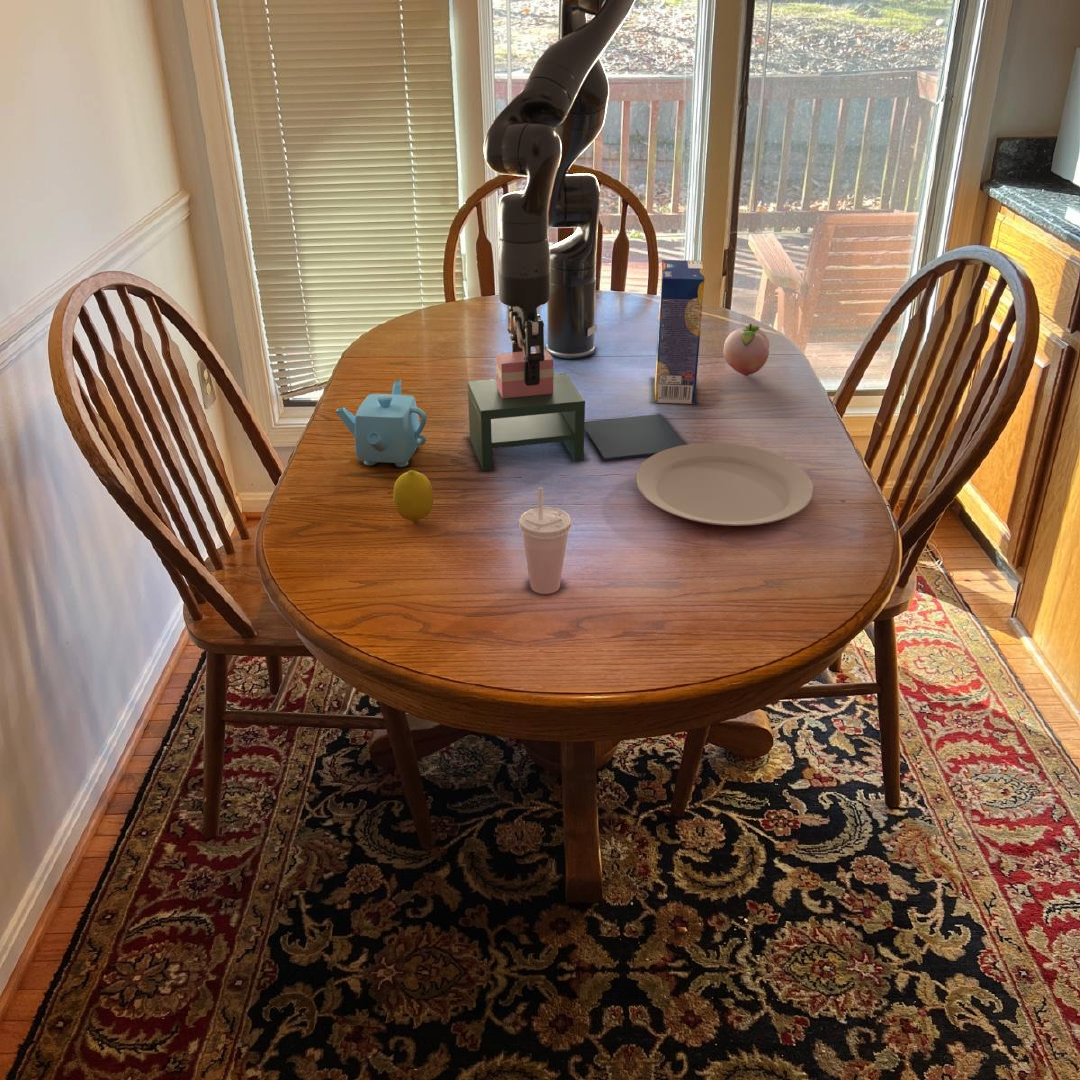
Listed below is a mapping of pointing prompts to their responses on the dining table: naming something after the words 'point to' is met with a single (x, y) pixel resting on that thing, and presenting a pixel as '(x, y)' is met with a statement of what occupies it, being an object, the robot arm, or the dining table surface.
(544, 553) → the smoothie
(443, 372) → the dining table surface
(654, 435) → the mat
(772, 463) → the plate
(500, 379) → the block
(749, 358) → the decorative fruit
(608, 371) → the dining table surface
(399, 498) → the lemon
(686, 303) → the beverage box
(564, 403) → the shelf stand
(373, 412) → the teapot
